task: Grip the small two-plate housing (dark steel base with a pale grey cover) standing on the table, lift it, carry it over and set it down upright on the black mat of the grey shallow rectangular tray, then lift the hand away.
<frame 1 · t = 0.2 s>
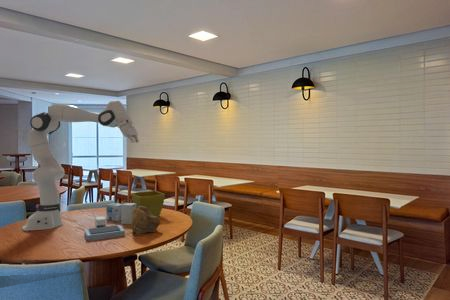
hand: (135, 142, 209), 54 cm above the table, tool tilted 30°, fingers open, 8 cm apart
grey shallow rectangular tray: (104, 235, 188), on the table
rough brown rock: (145, 231, 196), on the table
housing: (100, 229, 202), on the table
light bulb box: (115, 219, 226), on the table
flower pot: (148, 216, 234), on the table
supplement box: (129, 223, 217), on the table
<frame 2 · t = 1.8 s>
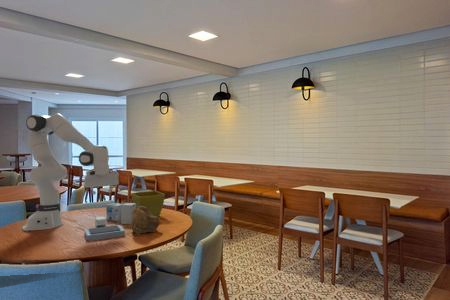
hand: (102, 193, 201), 22 cm above the table, tool pointing down, fingers open, 8 cm apart
nothing on the table moved.
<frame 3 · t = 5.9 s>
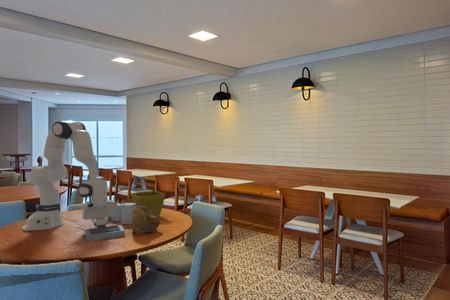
hand: (100, 224, 201), 3 cm above the table, tool pointing down, fingers closed on housing, 5 cm apart
housing: (100, 229, 202), on the table, touching gripper
everything else where it was.
when the fingers open (7 cm above the table, at t = 12.0 s): housing stays where it is, resting on grey shallow rectangular tray.
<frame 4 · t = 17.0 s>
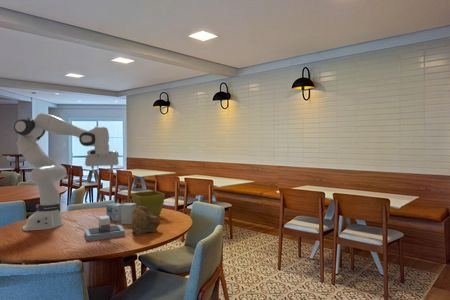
hand: (102, 172, 211), 34 cm above the table, tool pointing down, fingers open, 8 cm apart
housing: (104, 229, 188), point 3 cm above the table, touching grey shallow rectangular tray
everything else where it was.
at the end: housing inside the target area on the grey shallow rectangular tray (0.1 cm from its centre), point 3.5 cm above the grey shallow rectangular tray's base; housing tilted 0°; the gripper is holding nothing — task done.
